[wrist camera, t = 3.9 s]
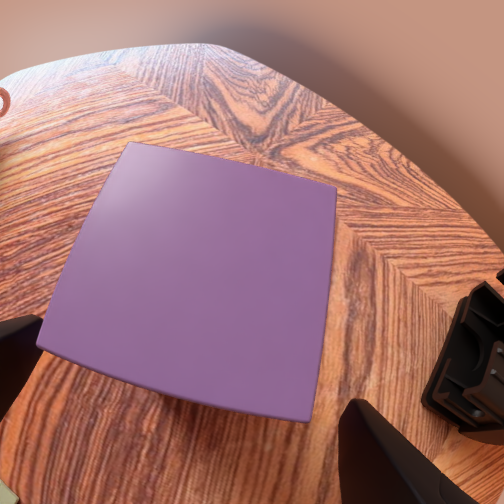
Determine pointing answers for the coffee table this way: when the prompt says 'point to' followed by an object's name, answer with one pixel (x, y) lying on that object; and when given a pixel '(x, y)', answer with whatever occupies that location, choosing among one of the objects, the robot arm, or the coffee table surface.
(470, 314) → the end cap
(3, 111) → the mug
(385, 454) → the robot arm
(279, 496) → the coffee table surface
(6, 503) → the mat
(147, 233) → the block
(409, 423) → the coffee table surface
